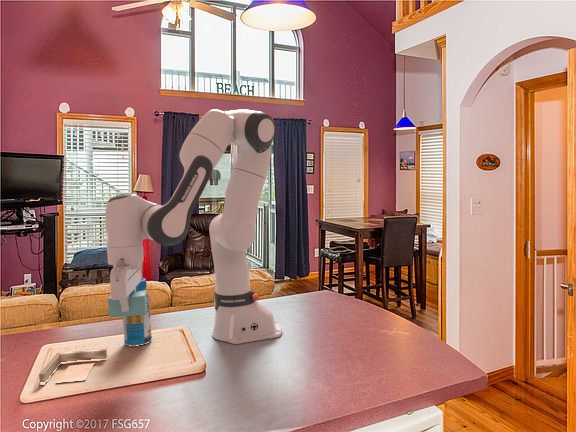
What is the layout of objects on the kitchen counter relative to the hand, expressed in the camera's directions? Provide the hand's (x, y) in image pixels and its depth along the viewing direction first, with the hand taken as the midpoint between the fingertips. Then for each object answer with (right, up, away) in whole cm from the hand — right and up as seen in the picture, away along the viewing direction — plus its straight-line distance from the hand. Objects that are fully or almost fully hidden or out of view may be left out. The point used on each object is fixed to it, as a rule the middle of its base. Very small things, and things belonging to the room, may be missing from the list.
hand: (128, 307), depth 117 cm
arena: (-15, -18, +1) cm, 23 cm away
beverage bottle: (-5, -16, +21) cm, 27 cm away
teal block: (0, -2, 0) cm, 2 cm away
